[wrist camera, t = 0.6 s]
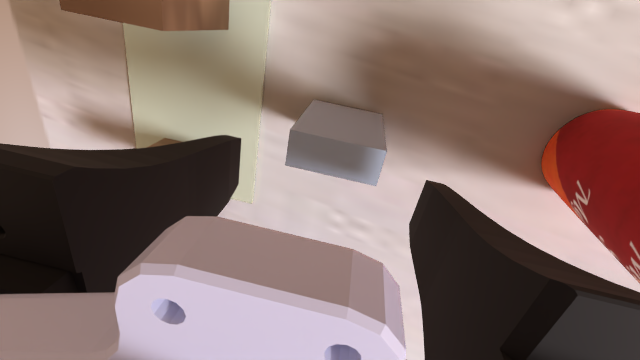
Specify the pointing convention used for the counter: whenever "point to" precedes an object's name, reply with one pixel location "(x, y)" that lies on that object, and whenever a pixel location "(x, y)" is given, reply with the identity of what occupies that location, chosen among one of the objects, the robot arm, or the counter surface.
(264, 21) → the mat
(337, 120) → the tile
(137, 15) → the tile
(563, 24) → the counter surface
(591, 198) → the paper cup
